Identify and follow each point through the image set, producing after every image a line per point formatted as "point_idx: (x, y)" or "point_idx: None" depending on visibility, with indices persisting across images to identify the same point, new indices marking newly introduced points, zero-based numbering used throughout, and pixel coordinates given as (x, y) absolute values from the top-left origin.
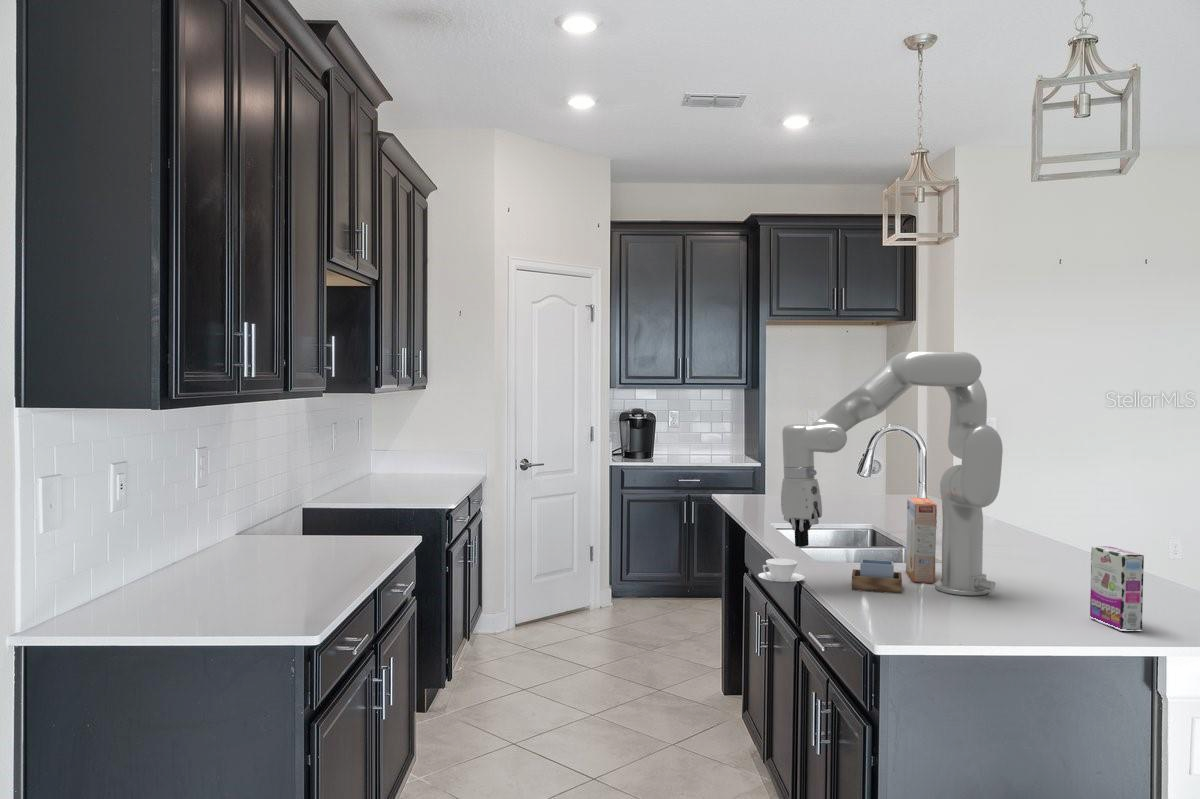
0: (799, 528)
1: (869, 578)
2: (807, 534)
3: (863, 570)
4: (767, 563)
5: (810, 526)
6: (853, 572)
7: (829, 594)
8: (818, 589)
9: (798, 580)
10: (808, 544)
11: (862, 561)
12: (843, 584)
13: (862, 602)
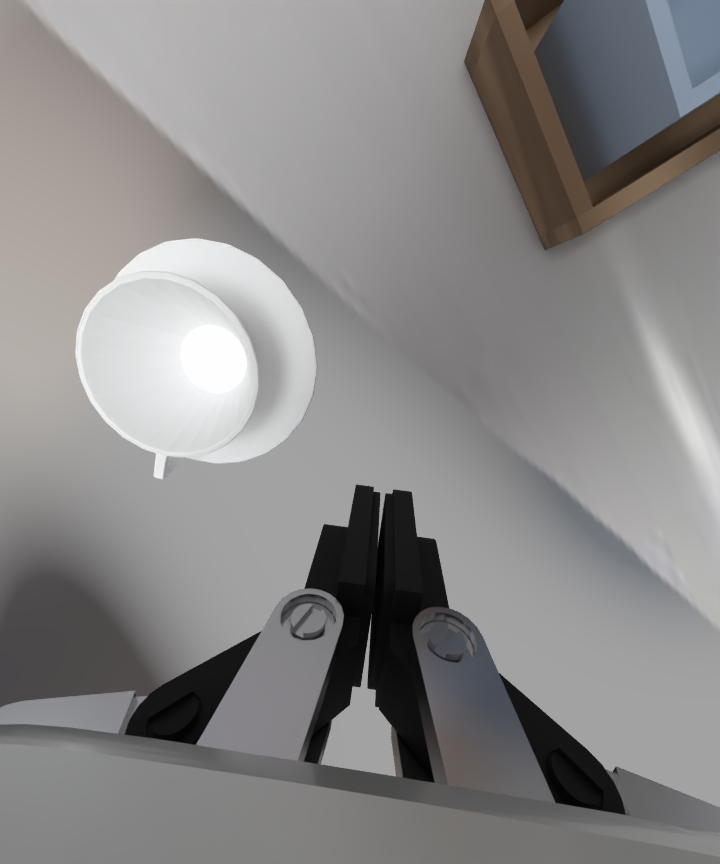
0: (394, 738)
1: (684, 171)
2: (444, 601)
3: (661, 130)
4: (146, 445)
5: (531, 715)
6: (542, 109)
7: (506, 406)
8: (423, 364)
9: (315, 373)
10: (411, 493)
11: (670, 20)
12: (450, 159)
13: (678, 420)
